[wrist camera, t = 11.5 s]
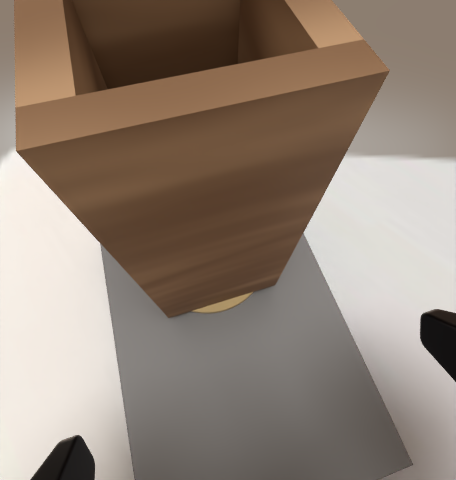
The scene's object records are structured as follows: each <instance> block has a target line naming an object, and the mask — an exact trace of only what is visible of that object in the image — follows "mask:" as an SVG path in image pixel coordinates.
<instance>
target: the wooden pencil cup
mask: <svg viewBox="0 0 456 480" xmlns="http://www.w3.org/2000/svg"><path fill="white" fill-rule="evenodd" d="M14 16H15V17H14V20H15V98H16V99H15V100H16V101H15V102H16V151H17V153H18V154H19V155H20V156H21V157H22V158H23V159H24V160H25V161H26V162H27V164H28V165H29V166H30V167H31V168H32V169H33V170H34V171H35V172H36V173H37V174H38V176H39V177H40V178H41V179H42V180H43V181H44V182H45V183H46V184H47V185H48V187H49V188H50V189H51V190H52V191H53V192H54V193H55V194H56V195H57V196H58V197H59V199H60V200H61V201H62V202H63V203H64V204H65V205H66V206H67V207H68V208H69V209H70V211H71V212H72V213H73V214H74V215H75V216H76V217H77V218H78V219H79V220H80V222H81V223H82V224H83V225H84V226H85V227H86V228H87V229H88V230H89V231H90V232H91V234H92V235H93V236H94V237H95V238H96V239H97V240H98V241H99V242H100V243H101V245H102V246H103V247H104V248H105V249H106V250H107V251H108V252H109V253H110V254H111V255H112V257H113V258H114V259H115V260H116V261H117V262H118V263H119V264H120V265H121V266H122V268H123V269H124V270H125V271H126V272H127V273H128V274H129V275H130V276H131V277H132V278H133V280H134V281H135V282H136V283H137V284H138V285H139V286H140V287H141V288H142V289H143V290H144V292H145V293H146V294H147V295H148V296H149V297H150V298H151V299H152V300H153V301H154V303H155V304H156V305H157V306H158V307H159V308H160V309H161V310H162V311H163V312H164V313H165V315H166V316H167V317H168V318H170V317H174V316H177V315H180V314H183V313H187V312H190V311H193V310H196V309H200V308H203V307H206V306H209V305H212V304H216V303H219V302H222V301H225V300H229V299H232V298H235V297H238V296H242V295H245V294H248V293H251V292H255V291H258V290H261V289H264V288H267V287H271V286H274V285H276V283H277V281H278V279H279V277H280V276H281V274H282V272H283V270H284V268H285V266H286V264H287V262H288V261H289V259H290V257H291V255H292V253H293V251H294V249H295V247H296V246H297V244H298V242H299V240H300V238H301V236H302V234H303V232H304V231H305V229H306V227H307V225H308V223H309V221H310V219H311V217H312V216H313V214H314V212H315V210H316V208H317V206H318V204H319V202H320V201H321V199H322V197H323V195H324V193H325V191H326V189H327V187H328V186H329V184H330V182H331V180H332V178H333V176H334V174H335V172H336V171H337V169H338V167H339V165H340V163H341V161H342V159H343V157H344V156H345V154H346V152H347V150H348V148H349V146H350V144H351V142H352V141H353V139H354V137H355V135H356V133H357V131H358V129H359V127H360V126H361V124H362V122H363V120H364V118H365V116H366V114H367V112H368V110H369V108H370V107H371V105H372V103H373V101H374V99H375V97H376V95H377V93H378V92H379V90H380V88H381V86H382V84H383V82H384V80H385V79H386V76H387V75H388V73H389V69H388V68H387V67H386V66H385V64H384V63H383V62H382V61H381V59H380V58H379V57H378V56H377V55H376V53H375V52H374V51H373V50H372V49H371V47H370V46H369V45H368V44H367V43H366V41H365V40H364V39H363V38H362V37H361V35H360V34H359V33H358V32H357V30H356V29H355V28H354V27H353V26H352V24H351V23H350V22H349V21H348V20H347V19H346V17H345V16H344V15H343V13H342V12H341V11H340V10H339V9H338V7H337V6H336V5H335V4H334V3H333V1H332V0H14Z"/></svg>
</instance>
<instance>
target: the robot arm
mask: <svg viewBox="0 0 456 480" xmlns="http://www.w3.org/2000/svg"><path fill="white" fill-rule="evenodd" d="M420 339H421V342H422V344H423V345H424V347H425V348H426V349H427V350H428V351H429V353H430V354H431V355H432V356H433V357H434V358H435V359H436V360H437V361H438V363H439V364H440V365H441V366H442V367H443V368H444V369H445V370H446V371H447V373H448V374H449V375H450V376H451V377H452V378H453V379H454V380H455V382H456V313H452V312H448V311H444V310H440V309H434V310H431V311H428V312H425V313H423V314H422V315H421V321H420ZM94 478H95V463H94V458H93V456H92V454H91V452H90V451H89V449H88V447H87V445H86V443H85V442H84V440H83V438H82V437H81V436H79V435H76V436H73V437H70V438H67V439H64V440H62V441H60V442H59V443H58V444H57V445H56V447H55V448H54V449H53V451H52V452H51V453H50V455H49V456H48V457H47V459H46V460H45V461H44V462H43V464H42V465H41V466H40V468H39V469H38V470H37V472H36V473H35V474H34V476H33V477H32V478H31V480H94Z"/></svg>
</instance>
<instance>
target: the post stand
mask: <svg viewBox="0 0 456 480" xmlns="http://www.w3.org/2000/svg"><path fill="white" fill-rule="evenodd" d="M100 245H101V243H100ZM101 251H102V258H103V265H104V272H105V279H106V286H107V293H108V299H109V306H110V313H111V320H112V327H113V334H114V341H115V348H116V354H117V361H118V368H119V375H120V382H121V389H122V396H123V402H124V409H125V416H126V423H127V430H128V437H129V444H130V451H131V457H132V464H133V471H134V478H135V480H379V479H381V478H383V477H386V476H388V475H390V474H393V473H395V472H397V471H400V470H402V469H404V468H407V467H409V466H411V465H413V463H412V461H411V459H410V457H409V455H408V453H407V451H406V449H405V447H404V444H403V442H402V440H401V438H400V436H399V434H398V432H397V430H396V428H395V425H394V423H393V421H392V419H391V417H390V415H389V413H388V411H387V409H386V407H385V404H384V402H383V400H382V398H381V396H380V394H379V392H378V390H377V388H376V385H375V383H374V381H373V379H372V377H371V375H370V373H369V371H368V369H367V366H366V364H365V362H364V360H363V358H362V356H361V354H360V352H359V350H358V347H357V345H356V343H355V341H354V339H353V337H352V335H351V333H350V331H349V328H348V326H347V324H346V322H345V320H344V318H343V316H342V314H341V312H340V309H339V307H338V305H337V303H336V301H335V299H334V297H333V295H332V293H331V291H330V288H329V286H328V284H327V282H326V280H325V278H324V276H323V274H322V272H321V269H320V267H319V265H318V263H317V261H316V259H315V257H314V255H313V253H312V250H311V248H310V246H309V244H308V242H307V240H306V238H305V236H304V234H302V236H301V238H300V240H299V242H298V244H297V246H296V247H295V249H294V251H293V253H292V255H291V257H290V259H289V261H288V262H287V264H286V266H285V268H284V270H283V272H282V274H281V276H280V277H279V279H278V281H277V283H276V285H274V286H271V287H267V288H264V289H261V290H258V291H255V292H251V293H248V294H245V295H242V296H238V297H235V298H232V299H229V300H225V301H222V302H219V303H216V304H212V305H209V306H206V307H203V308H200V309H196V310H193V311H190V312H187V313H183V314H180V315H177V316H174V317H170V318H168V317H167V316H166V315H165V313H164V312H163V311H162V310H161V309H160V308H159V307H158V306H157V305H156V304H155V303H154V301H153V300H152V299H151V298H150V297H149V296H148V295H147V294H146V293H145V292H144V290H143V289H142V288H141V287H140V286H139V285H138V284H137V283H136V282H135V281H134V280H133V278H132V277H131V276H130V275H129V274H128V273H127V272H126V271H125V270H124V269H123V268H122V266H121V265H120V264H119V263H118V262H117V261H116V260H115V259H114V258H113V257H112V255H111V254H110V253H109V252H108V251H107V250H106V249H105V248H104V247H103V246H102V245H101Z"/></svg>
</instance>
